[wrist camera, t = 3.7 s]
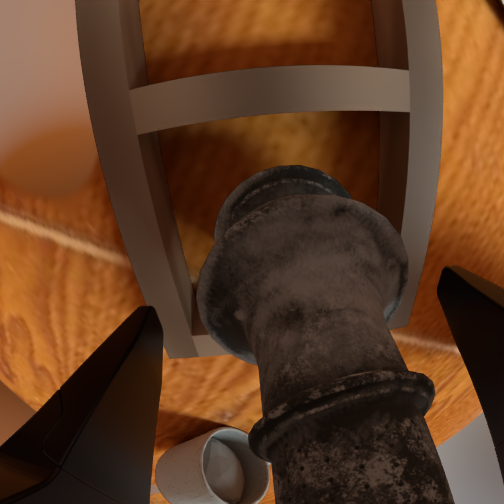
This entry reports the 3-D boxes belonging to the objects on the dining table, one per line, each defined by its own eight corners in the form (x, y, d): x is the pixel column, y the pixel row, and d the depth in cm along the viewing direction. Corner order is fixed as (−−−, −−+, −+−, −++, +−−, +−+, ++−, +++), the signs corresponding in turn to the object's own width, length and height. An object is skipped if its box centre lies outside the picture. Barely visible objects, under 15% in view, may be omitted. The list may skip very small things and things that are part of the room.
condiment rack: (373, -108, 5) (395, -129, 3) (389, 295, 16) (407, 325, 14) (101, -92, 5) (80, -113, 3) (175, 323, 16) (169, 358, 14)
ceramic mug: (152, 439, 25) (146, 509, 18) (201, 414, 22) (200, 503, 15) (235, 463, 29) (239, 522, 22) (289, 441, 26) (300, 510, 20)
